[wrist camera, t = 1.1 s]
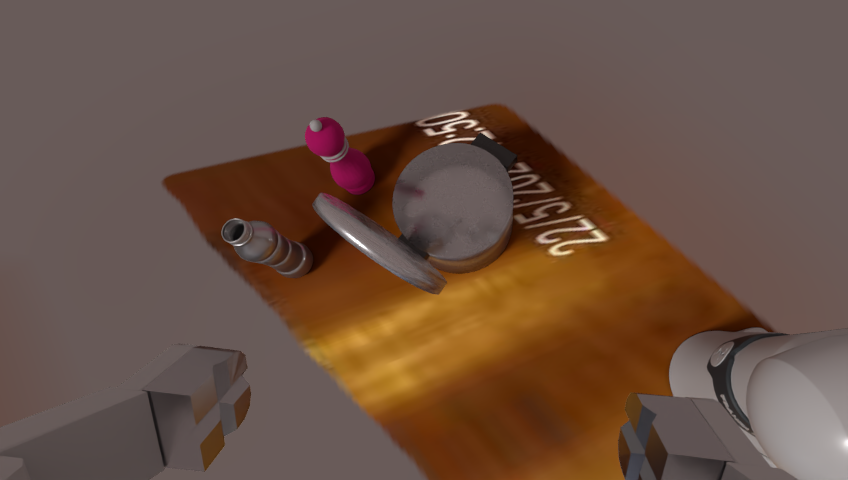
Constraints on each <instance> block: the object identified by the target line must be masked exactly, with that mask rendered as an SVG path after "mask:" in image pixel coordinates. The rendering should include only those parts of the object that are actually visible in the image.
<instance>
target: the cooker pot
mask: <svg viewBox="0 0 848 480" xmlns="http://www.w3.org/2000/svg"><path fill="white" fill-rule="evenodd" d="M516 162H517V155H516V154H514V153H512V152H511V151H509V150H508V149H506V148H504V147H503V146H501V145H499V144H498V143H496V142H495V141H493V140H491V139H490V138H488V137H486V136H485V135H483V134H482V133H480V134H479V135H478V136H477V137H476V139H475V140H474V141H473V142H472V143H471V145H469V144H462V143H451V144H444V145H439V146H436V147H433V148H431V149H429V150H427V151H425V152H423V153H421V154H420V155H418V156H417V157H416V158H414V159H413V160H412V161H411V162H410V163H409V164H408V165H407V166H406V168H405V169H404V170H403V172H402V173H401V175H400V177H399V178H398V181H397V183H396V185H395V189H394V193H393V213H394V217H395V220H396V223H397V225H398V227H399V229H400V230H401V232H402V235H401V236H400V237H399V238H398V239H400V240H401V241H402V242H404V243H405V244H406V245H408V246H409V247H410V248H412V249H413V250H414V251H415V252H417V253H418V254H419V255H420V256H422V257H423V258H424V259H425V260H426V261H427V262H429V263H430V264H431V265H432V266H433V267H435V268H437V269H439V270H441V271H444V272H448V273H456V274H463V273H470V272H474V271H477V270H480V269H482V268H484V267H486V266H488V265H489V264H491V263H492V262H494V261H495V260H496V259H497V258H498V257H499V256H500V255H501V254H502V252H503V251H504V249H505V248H506V246H507V244H508V242H509V239H510V236H511V232H512V222H513V187H512V183H511V180H510V177H509V175H508V171H509V170H510V169H511V168H512V167H513V165H514V164H515V163H516Z"/></svg>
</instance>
